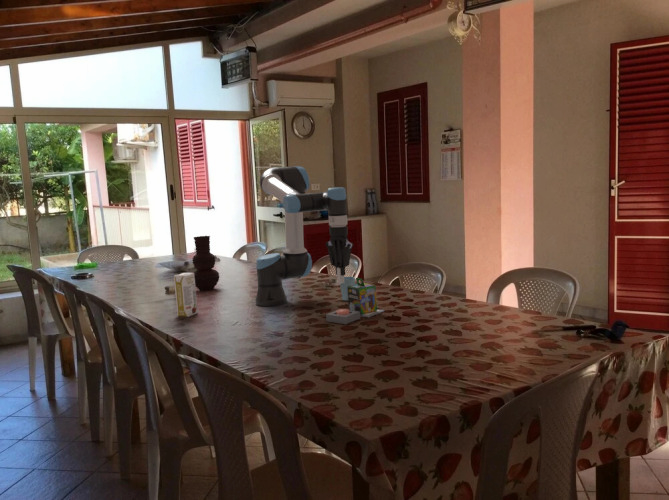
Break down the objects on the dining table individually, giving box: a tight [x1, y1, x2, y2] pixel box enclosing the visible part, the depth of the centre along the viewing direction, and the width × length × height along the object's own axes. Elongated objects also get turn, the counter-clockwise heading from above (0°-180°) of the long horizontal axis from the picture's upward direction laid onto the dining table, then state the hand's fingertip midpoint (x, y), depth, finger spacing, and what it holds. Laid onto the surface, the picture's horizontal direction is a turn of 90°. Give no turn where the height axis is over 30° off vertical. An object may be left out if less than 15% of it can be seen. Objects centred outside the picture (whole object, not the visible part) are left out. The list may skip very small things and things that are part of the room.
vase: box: [191, 235, 220, 292], centre depth 317 cm, size 15×15×30 cm
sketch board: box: [360, 308, 385, 318], centre depth 248 cm, size 14×12×1 cm
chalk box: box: [347, 277, 378, 315], centre depth 247 cm, size 9×9×15 cm
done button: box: [336, 308, 349, 315], centre depth 237 cm, size 5×5×3 cm
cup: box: [339, 276, 356, 302], centre depth 275 cm, size 8×8×10 cm
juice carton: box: [173, 272, 198, 318], centre depth 261 cm, size 8×9×19 cm
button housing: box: [325, 309, 361, 325], centre depth 237 cm, size 10×10×3 cm
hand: (341, 282), depth 235 cm, fingers closed
